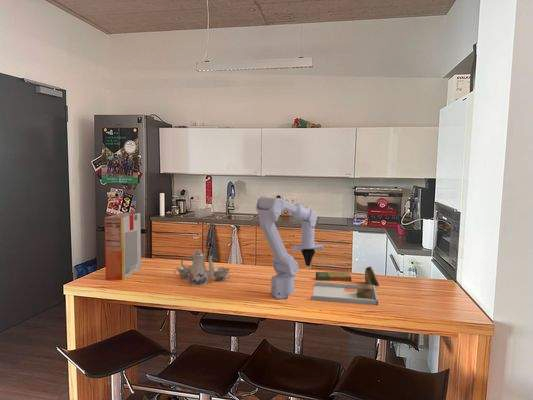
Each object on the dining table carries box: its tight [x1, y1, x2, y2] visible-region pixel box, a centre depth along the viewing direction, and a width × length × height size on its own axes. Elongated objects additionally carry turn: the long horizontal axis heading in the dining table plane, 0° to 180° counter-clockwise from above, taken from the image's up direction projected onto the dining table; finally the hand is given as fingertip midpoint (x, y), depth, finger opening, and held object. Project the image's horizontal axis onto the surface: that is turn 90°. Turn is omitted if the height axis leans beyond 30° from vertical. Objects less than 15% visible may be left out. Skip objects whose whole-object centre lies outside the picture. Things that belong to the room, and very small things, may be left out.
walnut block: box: [356, 283, 373, 299], centre depth 157 cm, size 6×6×4 cm
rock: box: [364, 265, 380, 287], centre depth 177 cm, size 11×9×10 cm
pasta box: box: [104, 211, 142, 281], centre depth 192 cm, size 23×8×30 cm, turn 176°
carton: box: [315, 271, 352, 283], centre depth 183 cm, size 8×16×4 cm, turn 89°
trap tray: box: [310, 281, 379, 306], centre depth 159 cm, size 26×20×4 cm
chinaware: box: [174, 248, 231, 286], centre depth 181 cm, size 28×17×17 cm, turn 87°
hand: (307, 265), depth 172 cm, fingers closed
